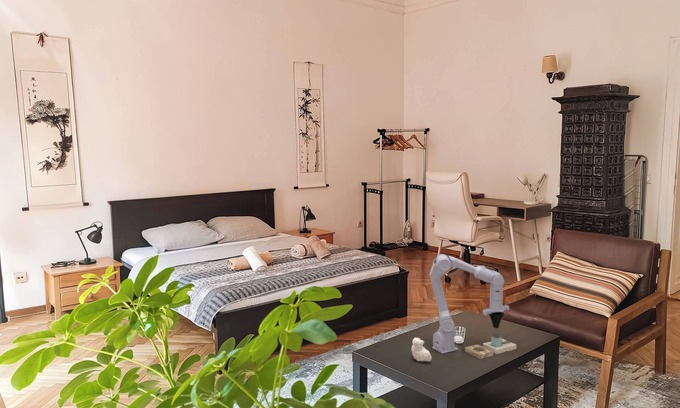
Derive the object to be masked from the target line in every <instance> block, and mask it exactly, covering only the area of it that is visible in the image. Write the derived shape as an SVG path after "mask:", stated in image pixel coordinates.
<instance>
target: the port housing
mask: <svg viewBox="0 0 680 408" xmlns="http://www.w3.org/2000/svg"><path fill="white" fill-rule="evenodd" d="M482 347H485V348H487V349H489V350H491V351H493V354H496V355H498V354H502V353H506V351H507V352H510V351H514V350H516V349H517V344H516V343H513V342H511V341H508V340H506V339H503V338H502V343H501V346H500V347H496V348H495V347H493V346H491V341H488V342H484V343H482Z"/></svg>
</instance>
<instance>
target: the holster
mask: <svg viewBox="0 0 680 408" xmlns="http://www.w3.org/2000/svg"><path fill="white" fill-rule="evenodd" d="M464 352H465V353H467V354H469V355H470V356H473V357H475V358H477V359H479V360H482V359H486V358H490V357H493V356H494V353H493V351H491V350H489V349H487V348H485V347H483V345H481V344H477V343H476V344H474V345H469V346H466V347H464Z"/></svg>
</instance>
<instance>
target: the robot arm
mask: <svg viewBox="0 0 680 408" xmlns="http://www.w3.org/2000/svg"><path fill="white" fill-rule="evenodd" d="M450 269H451V270H455V269H460V270H463V271H465V272H468V273H471V274H473V276H474V278H476V279H478V280H481V281H483V282H485V283H489V285H490V286H489V307H487V308H485V309H482V315H484V316H489V317H490V320H491V323H492V327H493V328H495V329H499V328H500V324H501V321H502V318H503V317H504V315H505V313H504V312H505V311H510V306H509V305H506V304H505V305H503V300H504V289H503V288H504V285H505V279H504V277H503V275H502V274H500V273H499V272H498V271H495V270H494V269H493V270H491V269H489V268H486V266H484V265H477V266H474V265H472V264H470V263H467V262H465V261H464V260H461V259H459V258H456V257H453V256H451V255H447V254H444V253H440V254H437V256H436V257H435V258H434V259H433V262H432V266H431V269H430V271H429V278H430V282H431V287H432V291H433V295H434V298H435V302H436V306H437V309H438V315H439V317H438V322H439V327H438V330H437V331H436V332H434V333H433V336H432V345H433V346H432V347H431V348H432V349H433V350H434V351H435V350H436V351H437V352H439V353H441V354H447V353H450V352H454V351H459V348H458V347H456V346H455V326H456V325H455V322H454V320H453V317H452V316H451V315H450V311H449V307H448V303H447V299H446V296H445V291H444V287H443V282H442V279H441V278H442V277H443V275H444V274H446V273H448V272H449V271H450Z"/></svg>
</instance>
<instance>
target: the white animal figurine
mask: <svg viewBox="0 0 680 408" xmlns="http://www.w3.org/2000/svg"><path fill="white" fill-rule="evenodd" d="M424 344H425V341H424V340H422V339H421V337H414V338H413V339H412V345H411V349H410V350H411V355H412V357H413V359H414V360H416V362H417V361H418V362H431V361H432V355H431V353H430V351H429V350H428V349H426V347H425V346H424Z"/></svg>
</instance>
